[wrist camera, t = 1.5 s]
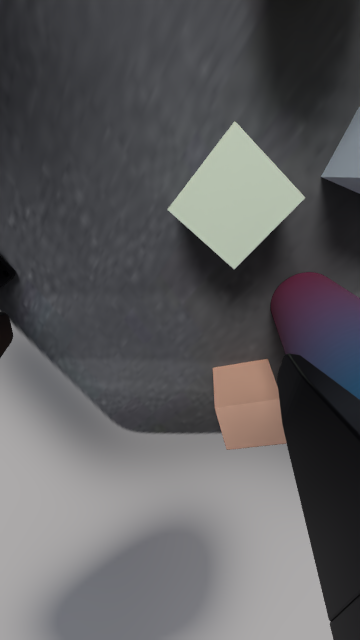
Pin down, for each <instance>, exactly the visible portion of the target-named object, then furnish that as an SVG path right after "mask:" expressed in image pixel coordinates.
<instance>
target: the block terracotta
mask: <svg viewBox="0 0 360 640" xmlns="http://www.w3.org/2000/svg"><path fill="white" fill-rule="evenodd" d="M213 382H214V402H215V410H216V414H217V417H218V421H219V424H220V428H221V431H222V435H223V439H224V442H225V446H226V449H227V450H230V449H240V448H249V447H258V446H267V445H277V444H286V443H287V442H286V438H285V434H284V429H283V425H282V418H281V409H280V401H279V392H278V387H277V384H276V381H275V378H274V375H273V373H272V370H271V367H270V364H269V361H268V359H264V360H258V361H252V362H245V363H239V364H233V365H227V366H221V367H215V368H213Z"/></svg>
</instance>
